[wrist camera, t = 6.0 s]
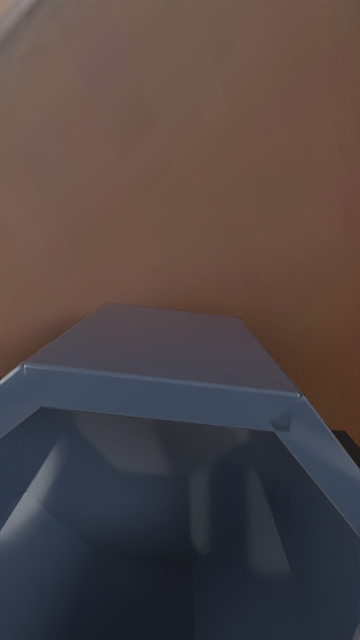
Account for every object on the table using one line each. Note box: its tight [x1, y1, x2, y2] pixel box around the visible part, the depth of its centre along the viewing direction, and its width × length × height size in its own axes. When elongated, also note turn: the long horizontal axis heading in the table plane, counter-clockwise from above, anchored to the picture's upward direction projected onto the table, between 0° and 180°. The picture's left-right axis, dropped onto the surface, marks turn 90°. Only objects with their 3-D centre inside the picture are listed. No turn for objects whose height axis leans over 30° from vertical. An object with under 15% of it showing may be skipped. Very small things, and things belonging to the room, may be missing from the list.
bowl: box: [0, 302, 360, 640], centre depth 9 cm, size 13×11×5 cm
